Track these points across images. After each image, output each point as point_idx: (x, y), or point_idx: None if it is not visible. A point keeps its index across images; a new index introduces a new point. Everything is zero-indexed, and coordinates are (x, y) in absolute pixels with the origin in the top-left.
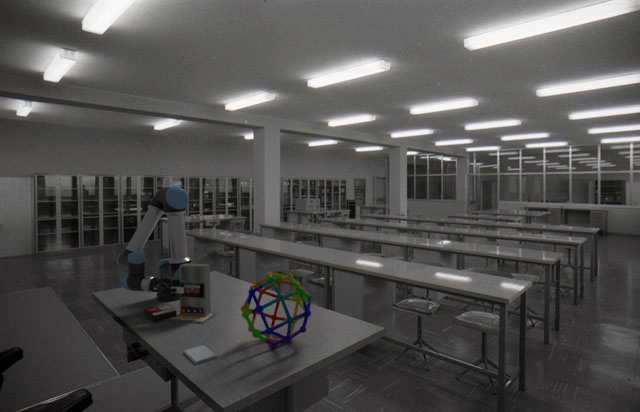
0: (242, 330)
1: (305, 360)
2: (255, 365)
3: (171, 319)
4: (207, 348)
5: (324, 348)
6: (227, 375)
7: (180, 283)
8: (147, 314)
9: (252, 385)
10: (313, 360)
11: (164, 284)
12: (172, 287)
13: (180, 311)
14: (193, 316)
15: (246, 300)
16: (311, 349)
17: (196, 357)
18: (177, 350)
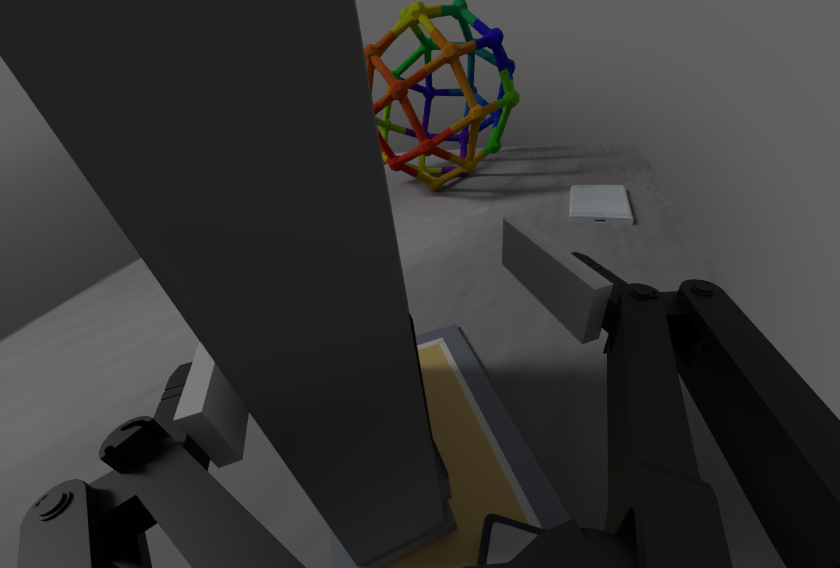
0: (426, 231)
1: None
2: (531, 163)
3: (549, 505)
4: (572, 204)
5: (418, 157)
6: (588, 163)
7: (409, 337)
8: None
9: (571, 147)
10: (460, 151)
11: (685, 479)
12: (593, 272)
13: (444, 519)
14: None
15: (471, 89)
16: (431, 160)
17: (616, 192)
18: (644, 238)
